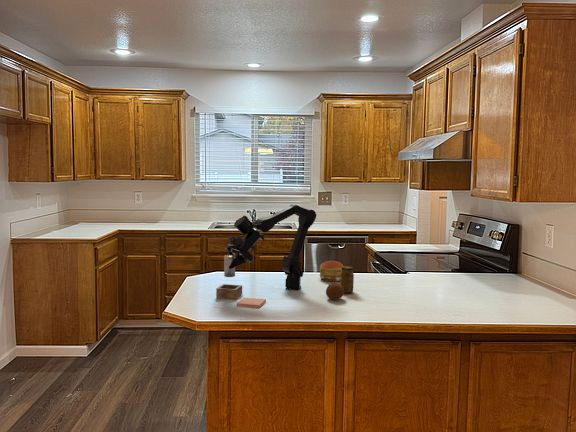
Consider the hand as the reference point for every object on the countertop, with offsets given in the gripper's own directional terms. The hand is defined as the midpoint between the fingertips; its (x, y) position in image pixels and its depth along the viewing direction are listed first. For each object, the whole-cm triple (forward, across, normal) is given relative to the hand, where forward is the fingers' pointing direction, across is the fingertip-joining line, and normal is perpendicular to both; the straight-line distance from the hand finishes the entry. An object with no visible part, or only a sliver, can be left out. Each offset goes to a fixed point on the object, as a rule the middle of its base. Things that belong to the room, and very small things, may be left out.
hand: (226, 267), depth 234 cm
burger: (-35, -7, +55) cm, 65 cm away
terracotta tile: (+7, +16, +12) cm, 21 cm away
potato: (-19, +26, +39) cm, 50 cm away
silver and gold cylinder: (+2, 0, +4) cm, 4 cm away
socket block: (+8, 0, +10) cm, 13 cm away
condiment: (-28, +19, +47) cm, 58 cm away
